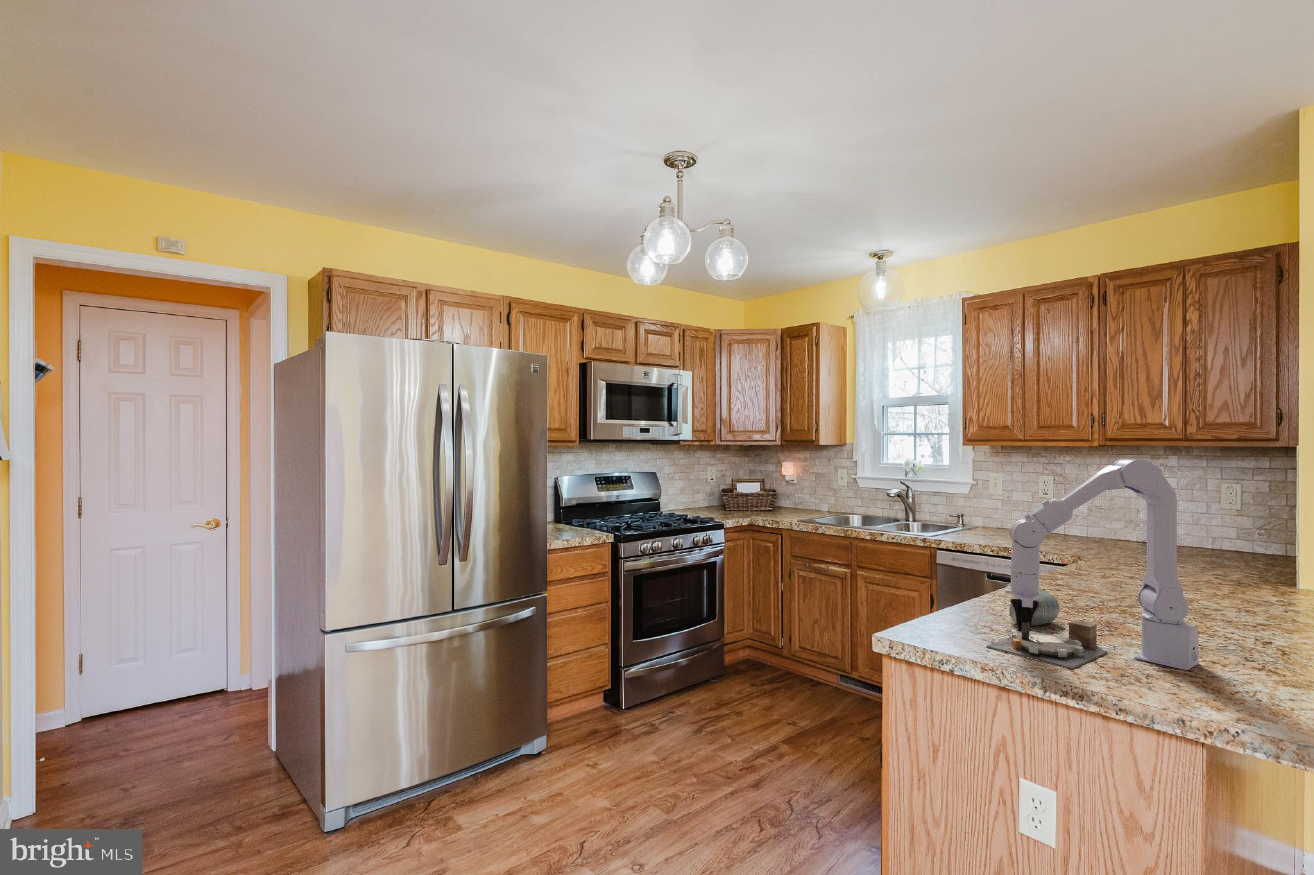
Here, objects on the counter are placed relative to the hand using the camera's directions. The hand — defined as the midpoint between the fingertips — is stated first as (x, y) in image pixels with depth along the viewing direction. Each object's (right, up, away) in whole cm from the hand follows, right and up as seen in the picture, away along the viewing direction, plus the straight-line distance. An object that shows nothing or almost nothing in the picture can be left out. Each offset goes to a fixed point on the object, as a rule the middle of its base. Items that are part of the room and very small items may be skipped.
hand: (1023, 631), depth 152 cm
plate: (+4, -4, -2) cm, 6 cm away
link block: (+15, -4, +3) cm, 16 cm away
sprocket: (+4, -4, -2) cm, 6 cm away
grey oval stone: (+14, -4, +20) cm, 25 cm away
